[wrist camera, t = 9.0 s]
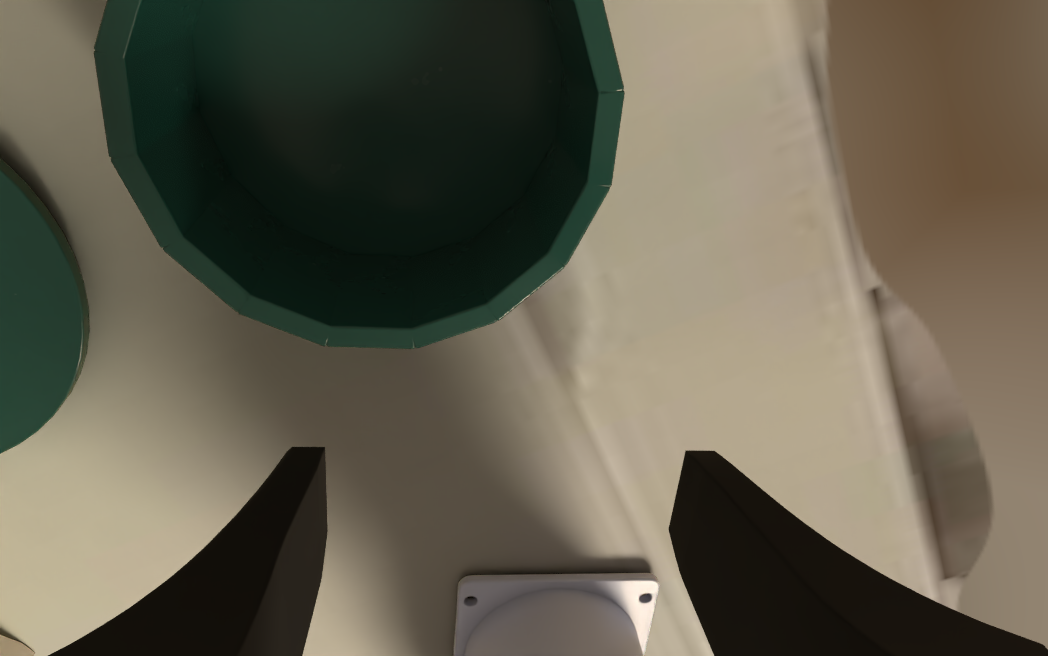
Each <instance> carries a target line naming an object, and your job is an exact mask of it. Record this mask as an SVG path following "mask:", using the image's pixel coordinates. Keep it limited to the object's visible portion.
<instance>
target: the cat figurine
mask: <svg viewBox="0 0 1048 656" xmlns="http://www.w3.org/2000/svg"><path fill="white" fill-rule="evenodd" d="M34 654H35V652H33V651H32V650H31V649H29V648H28V647H26V646H25V645H24V644H22V643H21V642H18V641H15V640H13V639H10V638H7V637H5V636H2V635H0V656H34Z"/></svg>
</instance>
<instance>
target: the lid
mask: <svg viewBox="0 0 1048 656" xmlns="http://www.w3.org/2000/svg"><path fill="white" fill-rule="evenodd" d="M89 331H90V329H89V306H88V301H87V296H86V291H85V286H84V281H83V278H82V275H81V273H80V270H79V267H78V264H77V261H76V258H75V256H74V254H73V252H72V250H71V248H70V246H69V244H68V242H67V240H66V238H65V236H64V234H63V232H62V230H61V229H60V227H59V226H58V224H57V223H56V221H55V220H54V218H53V217H52V215H51V213H50V212H49V210H48V209H47V207H46V206H45V205H44V204H43V202H42V201H41V200H40V199H39V198H38V196H37V195H36V194H35V193H34V192H33V190H32V189H31V188H30V187H29V186H28V184H27V183H26V182H25V181H24V180H23V179H22V178H21V177H20V176H19V175H18V174H17V173H16V172H15V171H14V170H13V169H12V168H11V167H9V166H8V165H7V164H6V163H5V162H4V161H3V160H2V159H1V158H0V454H1V453H3V452H5V451H6V450H8V449H10V448H12V447H14V446H16V445H18V444H20V443H21V442H23V441H24V440H26V439H27V438H29V437H30V436H31V435H33V434H34V433H36V432H37V431H38V430H39V429H40V428H41V427H42V426H43V425H44V424H45V423H47V422H48V421H49V420H50V419H51V418H52V417H53V416H54V414H55V413H56V412H57V411H58V409H59V408H60V407H61V405H62V404H63V403H64V401H65V400H66V399H67V397H68V396H69V395H70V393H71V392H72V390H73V388H74V386H75V384H76V382H77V380H78V378H79V376H80V374H81V371H82V367H83V364H84V361H85V357H86V354H87V347H88V339H89Z"/></svg>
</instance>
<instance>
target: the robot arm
mask: <svg viewBox="0 0 1048 656" xmlns="http://www.w3.org/2000/svg"><path fill="white" fill-rule="evenodd" d="M327 531H328V530H327V495H326V461H325V447H292V448H291V449H289V450H288V451H287V452H286V453H285V455H284V456H283V458H282V459H281V460H280V462H279V463H278V465H277V466H276V467H275V469H274V470H273V471H272V473H271V474H270V475H269V477H268V478H267V479H266V480H265V482H264V483H263V484H262V485H261V487H260V488H259V489H258V490H257V491H256V493H255V494H254V495H253V496H252V497H251V498H250V500H249V501H248V502H247V503H246V504H245V505H244V507H243V508H242V509H241V510H240V511H239V512H238V513H237V515H236V516H235V517H234V518H233V519H232V520H231V521H230V522H229V523H228V524H227V525H226V526H225V527H224V528H223V529H222V530H221V531H220V532H219V533H218V534H217V535H216V536H215V537H214V538H213V540H212V541H211V542H210V543H209V544H208V545H206V546H205V547H204V548H203V549H202V550H201V551H200V552H199V553H198V554H197V555H196V556H195V557H194V558H192V559H191V560H190V561H189V562H188V563H187V564H186V565H184V566H183V567H182V568H181V569H180V570H179V571H177V572H176V573H175V574H174V575H173V576H172V577H170V578H169V579H168V580H167V581H165V582H164V583H163V584H161V585H160V586H159V587H157V588H156V589H155V590H153V591H152V592H151V593H149V594H148V595H147V596H145V597H144V598H142V599H141V600H140V601H138V602H137V603H136V604H134V605H133V606H131V607H130V608H129V609H127V610H126V611H124V612H122V613H121V614H119V615H118V616H116V617H115V618H113V619H112V620H110V621H108V622H107V623H105V624H104V625H102V626H100V627H99V628H97V629H95V630H94V631H92V632H90V633H89V634H87V635H85V636H84V637H82V638H80V639H78V640H77V641H75V642H73V643H71V644H70V645H68V646H66V647H64V648H62V649H60V650H58V651H56V652H54V653H52V654H50V655H48V656H302V654H303V650H304V646H305V642H306V639H307V635H308V631H309V627H310V623H311V619H312V615H313V611H314V607H315V603H316V599H317V595H318V591H319V587H320V583H321V578H322V571H323V563H324V556H325V548H326V539H327ZM669 533H670V537H671V541H672V545H673V549H674V553H675V557H676V560H677V564H678V567H679V571H680V574H681V577H682V579H683V582H684V584H685V587H686V589H687V592H688V594H689V597H690V599H691V601H692V604H693V606H694V609H695V611H696V613H697V616H698V618H699V620H700V623H701V625H702V628H703V630H704V632H705V635H706V637H707V639H708V642H709V644H710V647H711V649H712V651H713V654H714V656H1048V650H1047V648H1045V646H1044V645H1042V644H1040V643H1037V642H1035V641H1032V640H1029V639H1026V638H1024V637H1021V636H1018V635H1015V634H1013V633H1010V632H1007V631H1005V630H1002V629H999V628H996V627H994V626H991V625H988V624H986V623H983V622H981V621H978V620H976V619H973V618H971V617H969V616H967V615H964V614H962V613H960V612H957V611H955V610H953V609H950V608H948V607H946V606H944V605H942V604H939V603H937V602H935V601H933V600H931V599H929V598H927V597H925V596H923V595H921V594H919V593H917V592H915V591H913V590H911V589H909V588H907V587H905V586H903V585H901V584H900V583H898V582H896V581H894V580H892V579H890V578H888V577H886V576H885V575H883V574H881V573H879V572H878V571H876V570H874V569H872V568H871V567H869V566H868V565H866V564H864V563H863V562H861V561H859V560H858V559H856V558H855V557H853V556H851V555H850V554H848V553H847V552H845V551H843V550H842V549H840V548H839V547H837V546H836V545H834V544H833V543H831V542H830V541H828V540H827V539H826V538H824V537H823V536H822V535H820V534H819V533H817V532H816V531H815V530H813V529H812V528H810V527H809V526H808V525H806V524H805V523H804V522H802V521H801V520H800V519H798V518H797V517H796V516H794V515H793V514H792V513H790V512H789V511H788V510H787V509H785V508H784V507H783V506H782V505H780V504H779V503H778V502H777V501H775V500H774V499H773V498H772V497H770V496H769V495H768V494H767V493H766V492H764V491H763V490H762V489H761V488H760V487H758V486H757V485H756V484H755V483H754V482H752V481H751V480H750V479H749V478H748V477H746V476H745V475H744V474H743V473H742V472H740V471H739V470H738V469H737V468H736V467H734V466H733V465H732V464H731V463H729V462H728V461H727V460H726V459H724V458H723V457H722V456H721V455H719V454H718V453H717V452H715V451H686V452H685V457H684V461H683V466H682V470H681V475H680V480H679V484H678V489H677V493H676V498H675V503H674V507H673V512H672V516H671V521H670V525H669ZM658 592H659V582H658V579H657V577H656V576H655V575H653V574H651V573H602V574H526V575H470V576H466V577H464V578H462V579H461V580H460V581H459V584H458V594H457V608H456V623H455V638H454V652H453V656H644V655H645V651H646V646H647V642H648V637H649V633H650V628H651V624H652V619H653V614H654V610H655V605H656V601H657V596H658ZM645 593H648V594H646V595H643V596H641V595H642V594H645ZM469 596H473V597H474V598H471V599H469V598H467V597H469Z"/></svg>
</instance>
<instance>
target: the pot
mask: <svg viewBox="0 0 1048 656" xmlns="http://www.w3.org/2000/svg"><path fill="white" fill-rule="evenodd" d="M94 49H95V51H94V58H95V65H96V72H97V78H98V85H99V92H100V99H101V106H102V112H103V119H104V126H105V133H106V140H107V146H108V153H109V157H111V162H112V163H113V165H114V167H115V169H116V170H117V172H118V174H119V176H120V177H121V179H122V181H123V182H124V184H125V186H126V188H127V189H128V191H129V193H130V195H131V196H132V198H133V200H134V202H135V203H136V205H137V207H138V209H139V210H140V212H141V214H142V215H143V217H144V219H145V221H146V222H147V224H148V226H149V228H150V229H151V231H152V233H153V235H154V236H155V238H156V240H157V242H158V243H159V245H160V246H161V247H162V248H163V250H164V251H165V252H166V253H167V254H168V255H169V256H171V257H172V258H173V259H174V260H175V261H177V262H178V263H179V264H180V265H181V266H183V267H184V268H185V269H186V270H187V271H188V272H190V273H191V274H192V275H193V276H194V277H196V278H197V279H198V280H199V281H200V282H202V283H203V284H204V285H205V286H206V287H207V288H209V289H210V290H211V291H212V292H213V293H215V294H216V295H217V296H218V297H219V298H220V299H222V300H223V301H224V302H225V303H226V304H228V305H229V306H230V307H231V308H232V309H234V310H235V311H236V312H238V313H239V314H241V315H243V316H246V317H248V318H251V319H254V320H256V321H259V322H262V323H264V324H267V325H269V326H272V327H275V328H277V329H280V330H282V331H285V332H288V333H290V334H293V335H296V336H298V337H301V338H303V339H306V340H309V341H311V342H314V343H317V344H319V345H322V346H326V345H327V346H328V347H359V348H396V349H414V348H420V347H423V346H426V345H429V344H432V343H435V342H438V341H441V340H444V339H447V338H450V337H453V336H456V335H459V334H462V333H465V332H468V331H471V330H474V329H477V328H480V327H483V326H486V325H489V324H492V323H495V322H496V321H497V320H498V321H499V320H501V319H502V318H503V317H504V316H505V315H507V314H508V313H509V312H510V311H512V310H513V309H514V308H515V307H517V306H518V305H519V304H520V303H521V302H523V301H524V300H525V299H526V298H528V297H529V296H530V295H531V294H533V293H534V292H535V291H536V290H537V289H539V288H540V287H541V286H542V285H544V284H545V283H546V282H547V281H549V280H550V279H551V278H552V277H553V276H555V275H556V274H557V273H558V272H560V271H561V270H562V269H563V268H564V267H565V265H566V264H567V263H568V262H569V260H570V258H571V256H572V255H573V253H574V251H575V249H576V248H577V246H578V244H579V242H580V241H581V239H582V237H583V235H584V234H585V232H586V230H587V228H588V226H589V225H590V223H591V221H592V219H593V218H594V216H595V214H596V212H597V211H598V209H599V207H600V205H601V204H602V202H603V200H604V198H605V197H606V195H607V193H608V191H609V189H610V187H611V185H612V178H613V171H614V164H615V157H616V150H617V143H618V136H619V128H620V121H621V114H622V107H623V100H624V91H623V89H624V86H623V81H622V77H621V73H620V69H619V65H618V61H617V57H616V53H615V48H614V44H613V40H612V36H611V32H610V28H609V24H608V19H607V15H606V11H605V7H604V3H603V0H107V2H106V6H105V10H104V13H103V17H102V20H101V24H100V27H99V31H98V34H97V38H96V42H95V45H94Z"/></svg>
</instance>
